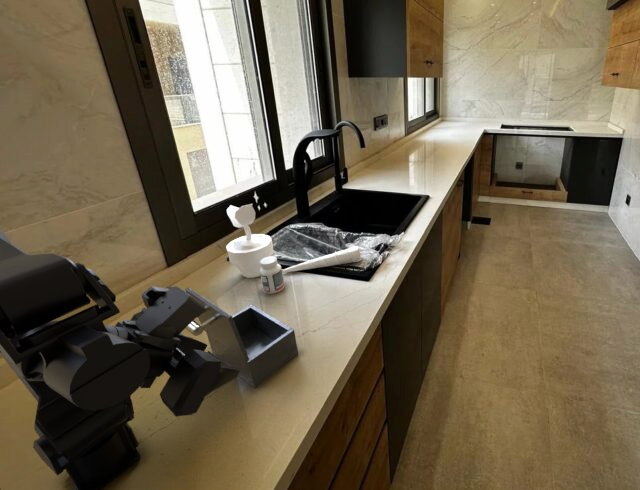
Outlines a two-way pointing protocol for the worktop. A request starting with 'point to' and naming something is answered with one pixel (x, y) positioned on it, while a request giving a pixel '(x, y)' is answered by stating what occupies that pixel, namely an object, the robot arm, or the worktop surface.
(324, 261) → the unicorn horn
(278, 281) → the pill bottle
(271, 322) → the box
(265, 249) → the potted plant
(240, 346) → the freezer lid
